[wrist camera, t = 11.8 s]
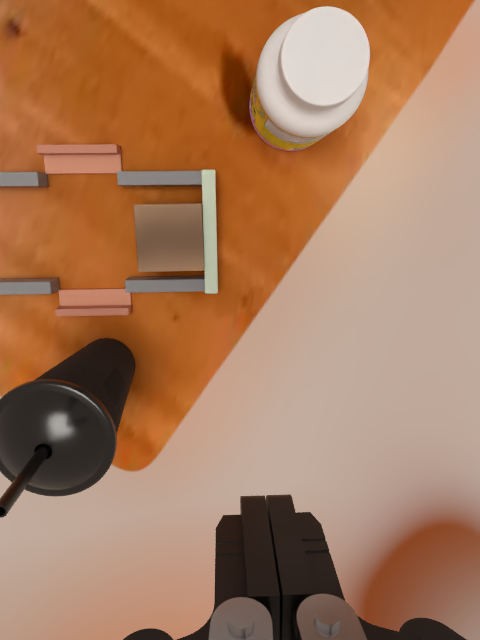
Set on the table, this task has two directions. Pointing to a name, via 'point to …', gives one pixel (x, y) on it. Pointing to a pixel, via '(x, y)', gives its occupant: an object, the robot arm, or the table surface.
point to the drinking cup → (65, 423)
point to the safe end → (210, 230)
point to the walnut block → (169, 237)
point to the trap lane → (109, 161)
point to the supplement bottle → (309, 78)
